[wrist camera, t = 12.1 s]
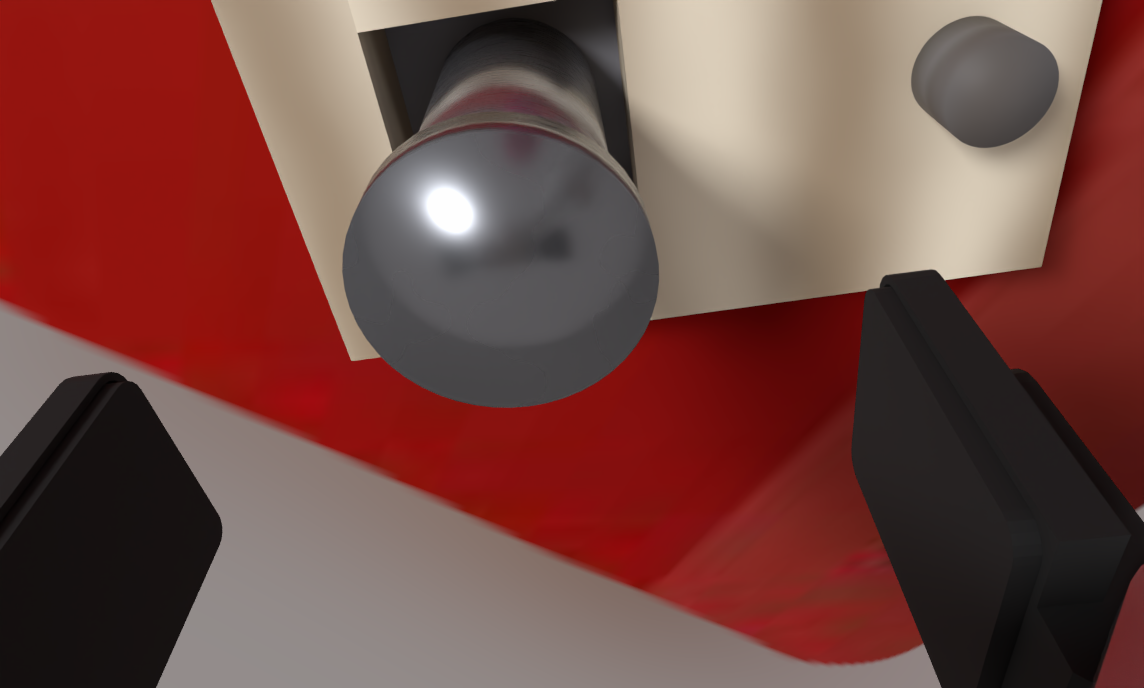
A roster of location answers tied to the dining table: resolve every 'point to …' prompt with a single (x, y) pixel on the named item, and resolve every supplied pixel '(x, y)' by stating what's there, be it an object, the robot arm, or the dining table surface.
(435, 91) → the silver domed cylinder
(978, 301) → the dining table surface
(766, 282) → the jig
